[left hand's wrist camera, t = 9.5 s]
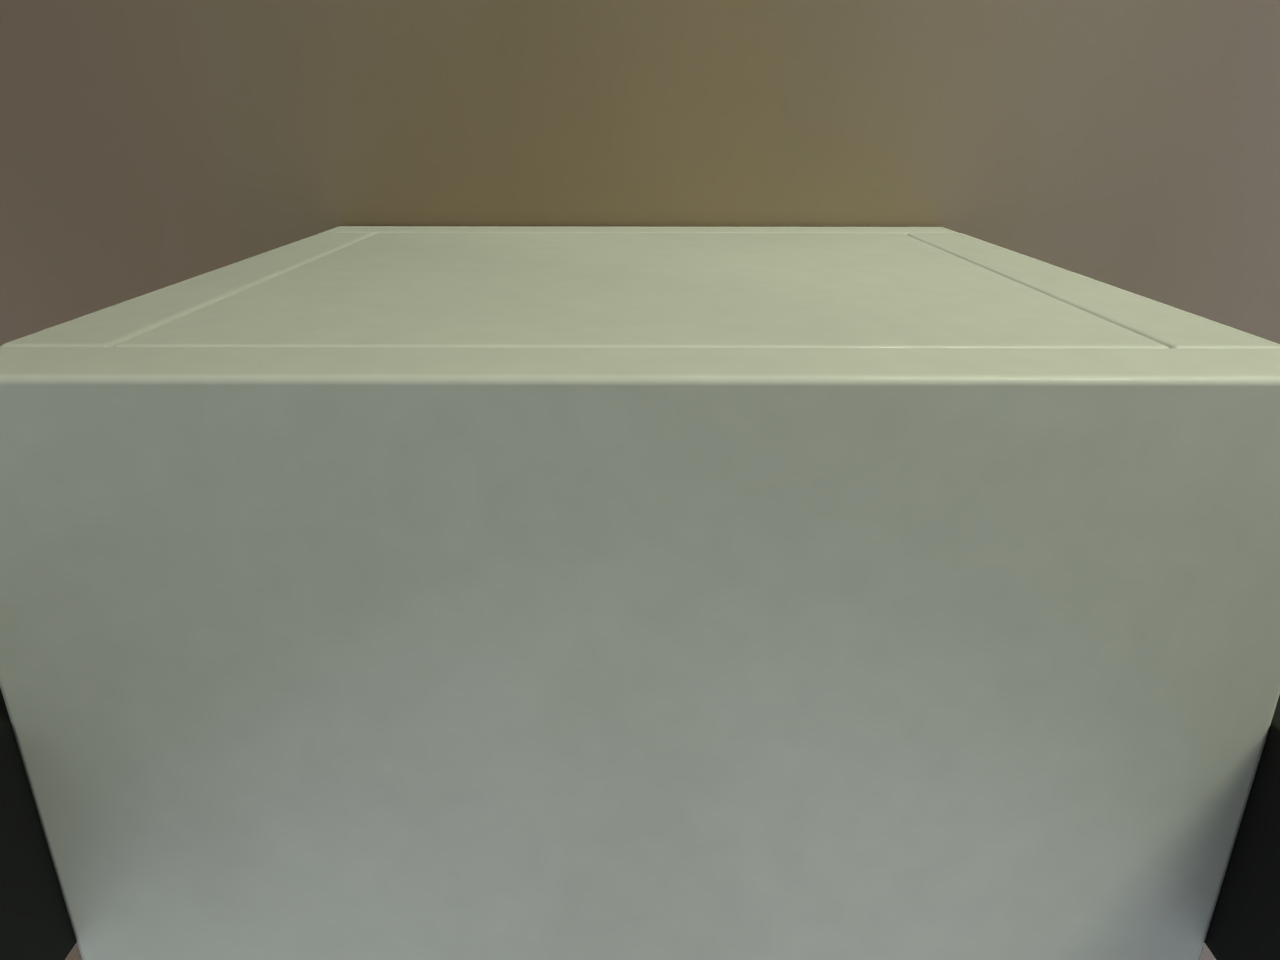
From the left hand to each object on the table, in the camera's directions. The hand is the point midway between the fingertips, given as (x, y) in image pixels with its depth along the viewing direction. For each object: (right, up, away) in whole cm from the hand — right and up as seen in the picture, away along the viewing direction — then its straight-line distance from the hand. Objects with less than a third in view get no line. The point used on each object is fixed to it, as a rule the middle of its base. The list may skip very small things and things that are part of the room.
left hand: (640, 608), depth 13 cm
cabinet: (0, -2, +8) cm, 8 cm away
